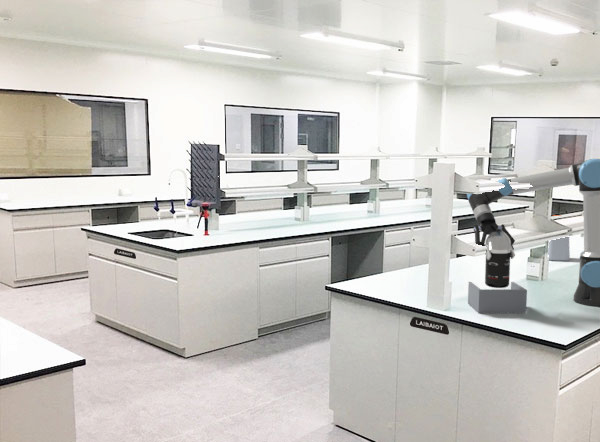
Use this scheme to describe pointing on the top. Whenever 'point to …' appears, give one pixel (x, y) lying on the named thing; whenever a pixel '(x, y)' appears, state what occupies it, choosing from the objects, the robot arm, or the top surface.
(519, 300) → the box
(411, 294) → the top surface
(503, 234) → the silver and black canister
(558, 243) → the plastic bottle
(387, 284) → the top surface
